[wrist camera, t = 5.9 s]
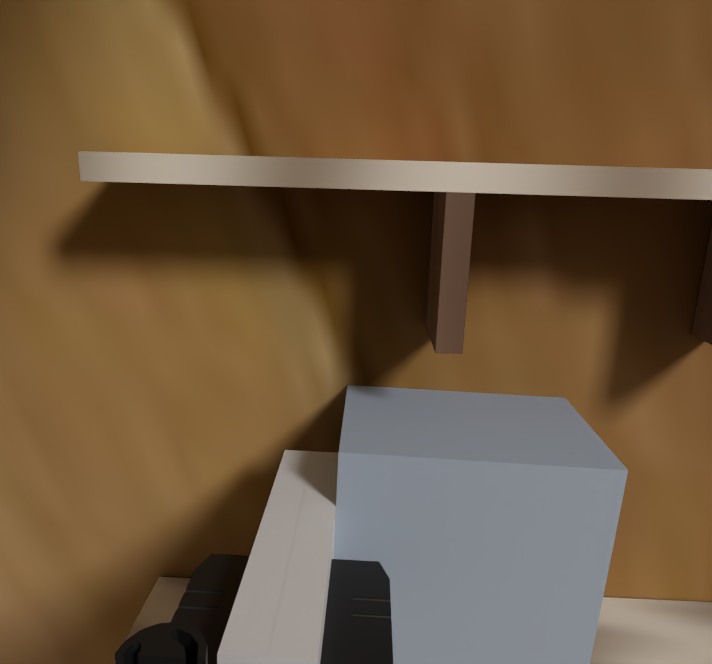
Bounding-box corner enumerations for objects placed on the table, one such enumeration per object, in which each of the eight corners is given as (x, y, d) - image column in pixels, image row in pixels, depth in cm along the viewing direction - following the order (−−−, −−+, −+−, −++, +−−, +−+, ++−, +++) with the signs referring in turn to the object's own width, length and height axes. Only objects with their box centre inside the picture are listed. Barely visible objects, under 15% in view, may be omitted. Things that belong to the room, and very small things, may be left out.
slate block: (337, 569, 17) (327, 682, 13) (347, 385, 16) (338, 452, 12) (535, 582, 17) (582, 700, 13) (565, 398, 15) (627, 470, 12)
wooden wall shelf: (160, 593, 18) (119, 671, 15) (128, 155, 14) (67, 149, 11) (881, 626, 17) (981, 715, 14) (1027, 182, 14) (1196, 182, 11)
